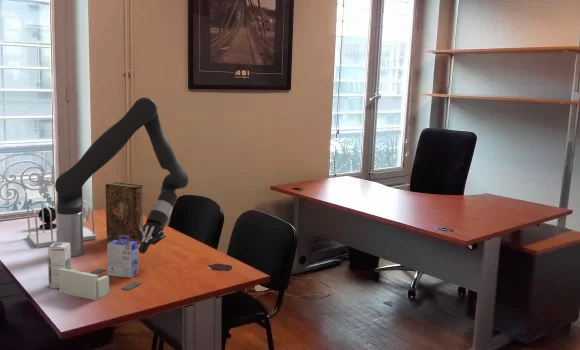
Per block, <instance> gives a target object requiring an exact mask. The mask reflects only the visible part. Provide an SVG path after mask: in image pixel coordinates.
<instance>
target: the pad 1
mask: <svg viewBox="0 0 580 350" xmlns="http://www.w3.org/2000/svg"><path fill="white" fill-rule="evenodd" d="M106 271H107V269H102V268H97V269H95V270H93V271H90V272H89V273H90V274H95V275H99V274H101V273H103V272H106Z"/></svg>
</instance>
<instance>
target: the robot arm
mask: <svg viewBox="0 0 580 350" xmlns="http://www.w3.org/2000/svg"><path fill="white" fill-rule="evenodd" d="M157 105H158V104H157V103H156V102H155V101H154V100H153V99H152V98H149V97H140V98H138V99H137V100H136V101H135V102H134V104H133V105H132V106H131V107H130V109H129V110H128V111H127V112H126V114H125V115H124V116H123V117H122V118H120V120H118V121H117V122H116V123H114V124H113V125H112V126H110V127H109V128H108V129H106V131H104V132H103V133H102V134H101V135H100V136H99V137H98V138H97V139H96V140H94V142H93V143H92V144H91V145H90V146H89V147H88V148H87V150H86V151H85V153H83V155H82V156H81V158H80V159H79V160H78V161H77V162H76V163H75V164H74V165H72V167H70V168H69V169H68V170H67V171H63V173H60V175H58V177H57V178H56V180H55V183H54V188H55V191H56V193H57V202H58V204H57V219H58V230H57V229H56V230H55V231H56V238H57V242H66V243H70V254H71V258H72V257H77V256H81V255H84V251H85V250H84V241H83V219H82V200H83V186H84V185H85V184H86V183H87V181H88V180H89V179H90V178H91V177H92V176H93V175H94V174H95V173H96V172H98V171H99V170H100V169H101V168H103V167H104V166H105V165H106V164H107V163H109V162H110V161H111V160H112V159H114V157H115V156H116V155H117V154H118V153H119V152H120V151H121V150H122V149H123V148H124V147H125V146H126V145H127V143H128V142H129V140H130V139H131V138H132V136H133V135H134V134H135V133H136V132H137V131H138V130H139V129H141V128H142V127H143V126H144V129H145V130H146V133H147V134H148V137H149V140H150V144H151V146H152V149H153V152H154V155H155V156H156V159H157V161H158V163H159V167H161V169H163V170H166V171H168V174H166V176H165V177H164V178H163V181H162V183H161V190H160V193H159V195H158V197H157V199H156V201H155V202H154V204H153V205H152V208H151V210H150V212H149V214H148V216H147V218H146V222H145V224H143V228H141V229H139V228H137V229H136V231H137V235H138V240H139V241H140V242H141V243H140V245H139V246H138V253H140V254H143V255H144V254H145V253H147V251H148V249H149V247H150V246H152V245H153V246H154V245H156V244H157V243H159V242H161V241H162V240H163V239H165V238H166V234H165V233H164V232H163V231H164V228H165V227H166V225H167V222H168V221H169V219H170V216H171V215H172V211H173V208H174V207H175V204H176V202H177V199H178V195H177V193H176V191H177V190H180V189H184V188H186V187H187V186H188V184H189V176H188V173H187V172H186V170H185V169H184V167H183V166H182V165H181V163H180V162H179V160H177V157H176V155H175V153H174V151H173V148H172V145H171V144H170V141H169V139H168V138H167V135H166V133H165V131H164V128H163V127H162V125H161V121H160V117H159V113H158V106H157Z"/></svg>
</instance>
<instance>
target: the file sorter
mask: <svg viewBox="0 0 580 350" xmlns="http://www.w3.org/2000/svg"><path fill="white" fill-rule="evenodd" d="M84 203H85V204H86V205H88V206H89V208H90V211H91V222H92V223H91V224H92V231H91V229H89V228H88V227H86V226H85V222H84V215H83V208H84ZM54 204H55V206H54V207H55V208H54V209H55V211H56V219H55V224H56V228H55V229H56V230H54V231H53V229H52V223H53V222H52V215H51V210H50V209H49V208H48V207H49V206H47V205H46V204H45V203H42V204H41V209H42V219H41V220H42V221H43V222H42V221H41V222H42V224H43V229H42V232H39V231H38V218H37V217H38V216H37V213H36V210H35V208H33V207H32V206H31V205H29V204H27V206H26V214H27V224H28V225H27V226H28V227H27V228H28V234H26V238H27V240H28V241H29V242H30V243H31V244H32V245H33V247H35V248H38V249H39V248H44V247H49V246H51V245H52V244H53V243H55V242H57V238H56V231H57V230H58V216H57V204H58V201H56V202H55V203H54ZM43 208H47V209H48V210H49V212H50V223H51V229H50V231H46V232H45V230H44V224H45V223H44V212H43ZM29 209H30V210H32V211H33V214H34V221H35V233H31V224H30V223H31V222H30V221H31V220H30V210H29ZM82 219H83V242H84V241H91V240H96V239H97V238H98V237H97V234H96V233H95V219H94V208H93V205H92V204H91V203H89V202H88V201H86V200H84V199H82Z"/></svg>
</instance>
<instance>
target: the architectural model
mask: <svg viewBox="0 0 580 350" xmlns="http://www.w3.org/2000/svg"><path fill="white" fill-rule="evenodd" d="M83 215H84V223H86V222H87V221H89V215H91V207H90V206H89V207H87V211H86V207H83Z"/></svg>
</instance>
